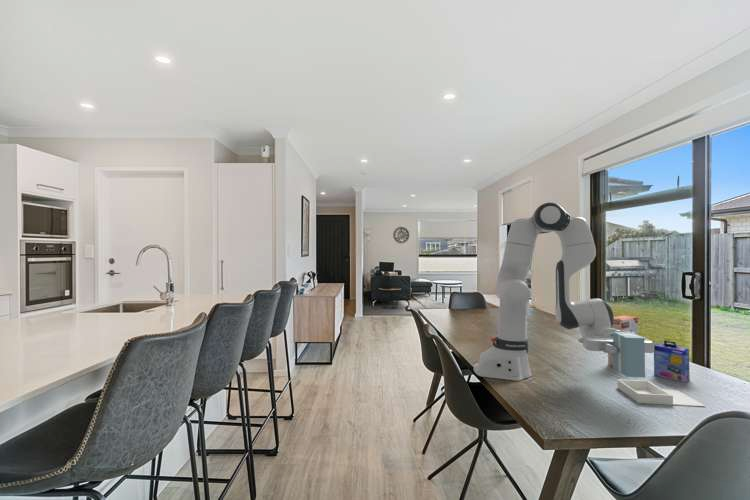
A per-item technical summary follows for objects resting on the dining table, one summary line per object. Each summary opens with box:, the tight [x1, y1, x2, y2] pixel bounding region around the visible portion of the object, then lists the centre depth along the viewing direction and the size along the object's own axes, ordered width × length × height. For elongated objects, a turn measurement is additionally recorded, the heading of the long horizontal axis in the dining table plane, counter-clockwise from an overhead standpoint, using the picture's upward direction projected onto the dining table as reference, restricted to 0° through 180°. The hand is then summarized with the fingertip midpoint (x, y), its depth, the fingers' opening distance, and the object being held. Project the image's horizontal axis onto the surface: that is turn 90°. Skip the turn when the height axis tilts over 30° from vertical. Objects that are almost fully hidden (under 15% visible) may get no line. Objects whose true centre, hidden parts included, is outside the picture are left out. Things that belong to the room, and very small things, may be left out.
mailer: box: [616, 378, 706, 408], centre depth 116 cm, size 19×13×3 cm
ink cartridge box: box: [653, 339, 691, 383], centre depth 134 cm, size 10×6×14 cm, turn 34°
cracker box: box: [607, 314, 639, 368], centre depth 150 cm, size 14×6×21 cm, turn 119°
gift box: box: [613, 332, 646, 379], centre depth 109 cm, size 5×8×12 cm, turn 170°
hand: (629, 350), depth 108 cm, fingers closed on gift box, 5 cm apart
